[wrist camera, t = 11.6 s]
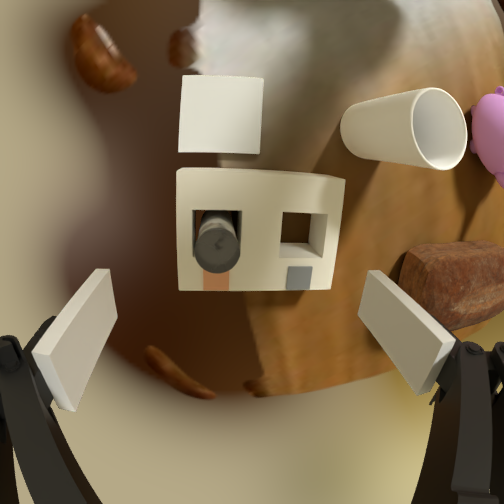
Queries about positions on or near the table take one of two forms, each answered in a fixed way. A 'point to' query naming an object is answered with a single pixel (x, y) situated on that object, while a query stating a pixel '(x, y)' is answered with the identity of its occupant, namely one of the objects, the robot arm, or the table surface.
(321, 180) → the socket block
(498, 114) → the teapot
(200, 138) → the white flat square plate
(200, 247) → the plug
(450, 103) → the cup
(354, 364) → the table surface
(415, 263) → the bread
